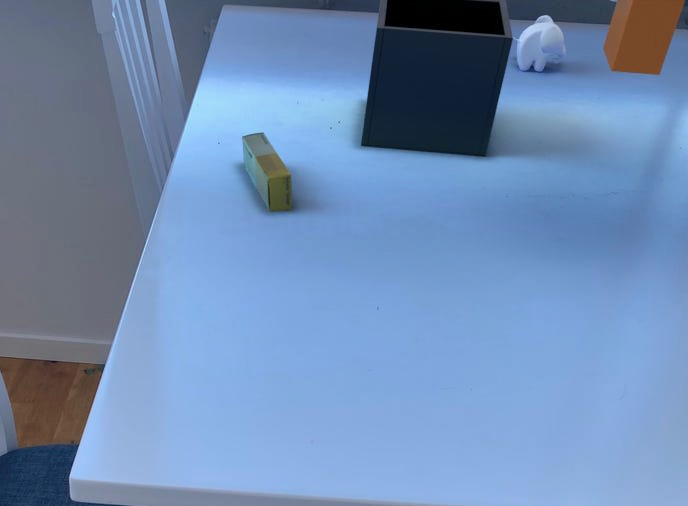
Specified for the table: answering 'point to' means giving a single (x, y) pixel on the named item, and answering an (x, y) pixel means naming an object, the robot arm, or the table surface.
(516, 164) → the table surface
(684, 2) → the robot arm
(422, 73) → the trash can
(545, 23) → the elephant figurine
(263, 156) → the medication box
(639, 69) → the block
